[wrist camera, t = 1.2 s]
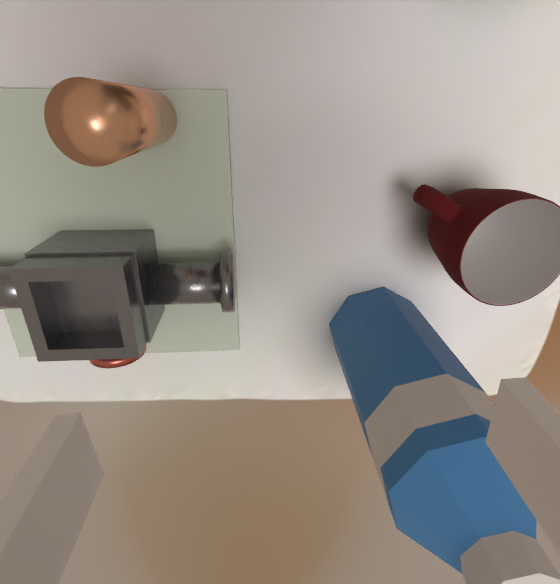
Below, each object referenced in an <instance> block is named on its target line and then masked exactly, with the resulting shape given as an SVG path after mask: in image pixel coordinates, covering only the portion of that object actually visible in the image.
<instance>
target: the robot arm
mask: <svg viewBox="0 0 560 584" xmlns="http://www.w3.org/2000/svg"><path fill="white" fill-rule="evenodd" d="M485 443H486V444H487V446H488V447H489V449H490V450H491V452H492V453H493V455H494V456H495V458H496V459H497V461H498V462H499V464H500V465H501V467H502V469H503V470H504V472H505V473H506V475H507V476H508V478H509V479H510V481H511V482H512V484H513V485H514V487H515V488H516V490H517V491H518V493H519V494H520V496H521V497H522V499H523V501H524V502H525V504H526V505H527V507H528V508H529V510H530V511H531V513H532V514H533V516H534V517H535V519H536V520H537V522H538V523H539V525H540V526H541V528H542V529H543V531H544V532H545V534H546V535H547V537H548V539H549V540H550V542H551V543H552V544H553V546H554V548H555V549H556V551H557V552H558V554H559V555H560V414H559V413H558V412H557V411H556V410H555V408H554V407H553V406H552V405H551V404H550V403H549V402H548V401H547V400H546V399H545V398H544V397H543V396H542V395H541V394H540V393H539V392H538V391H537V389H536V388H535V387H534V386H533V385H532V384H531V383H530V382H529V381H528V380H527V379H526V378H512V379H501V382H500V386H499V390H498V394H497V398H496V402H495V406H494V410H493V414H492V418H491V422H490V426H489V430H488V434H487V438H486V441H485ZM103 474H104V472H103V470H102V467H101V465H100V462H99V459H98V457H97V454H96V452H95V449H94V446H93V444H92V441H91V439H90V436H89V433H88V431H87V428H86V426H85V423H84V420H83V418H82V415H81V413H69V414H56V415H55V416H54V418H53V419H52V421H51V422H50V424H49V425H48V427H47V429H46V430H45V432H44V433H43V435H42V436H41V438H40V440H39V441H38V443H37V444H36V446H35V447H34V449H33V450H32V452H31V454H30V455H29V457H28V458H27V460H26V461H25V463H24V465H23V466H22V468H21V469H20V471H19V472H18V474H17V475H16V477H15V479H14V480H13V482H12V483H11V485H10V486H9V488H8V489H7V491H6V493H5V494H4V496H3V497H2V499H1V500H0V584H59V582H60V579H61V577H62V574H63V572H64V569H65V567H66V565H67V562H68V560H69V557H70V555H71V552H72V550H73V547H74V545H75V543H76V540H77V538H78V535H79V533H80V531H81V528H82V525H83V523H84V521H85V518H86V516H87V513H88V511H89V509H90V506H91V503H92V501H93V499H94V496H95V494H96V491H97V489H98V487H99V484H100V482H101V479H102V477H103Z"/></svg>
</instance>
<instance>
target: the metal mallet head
mask: <svg viewBox="0 0 560 584" xmlns="http://www.w3.org/2000/svg"><path fill="white" fill-rule="evenodd" d="M24 255H25V258H24V259H23V260H21V261H20V262H18V263H17V264H15V265H14V266H0V309H18V308H21V309H22V313H23V316H24V319H25V322H26V325H27V328H28V331H29V335H30V338H31V341H32V344H33V347H34V350H35V353H36V356H37V360H38V361H68V360H89V361H90V362H91V364H93V365H94V366H97V367H100V368H116V367H121V366H125V365H128V364H130V363H133V362H134V361H136V360H138V359H139V358H141V357H142V356H143V355H144V353H145V352H146V349H147V346H146V343H150V342H151V340H152V338H153V335H154V333H155V331H156V329H157V326H158V324H159V322H160V319H161V317H162V315H163V313H164V310H165V305H174V304H214V303H221V308H222V312H223V313H224V312H235V306H236V278H235V261H234V253H233V252H223V253H221V254H220V262H186V263H159V262H158V255H157V248H156V241H155V234H154V229H124V230H61V231H59V232H57V233H56V234H54V235H53V236H51V237H50V238H48V239H47V240H45V241H43V242H42V243H40V244H39V245H37V246H36V247H34V248H32V249H31V250H29V251H28V252H26V253H25V254H24Z"/></svg>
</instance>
